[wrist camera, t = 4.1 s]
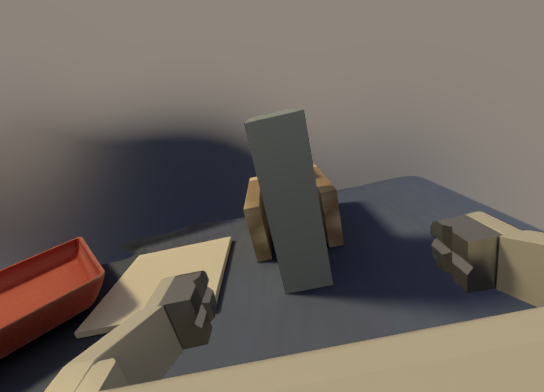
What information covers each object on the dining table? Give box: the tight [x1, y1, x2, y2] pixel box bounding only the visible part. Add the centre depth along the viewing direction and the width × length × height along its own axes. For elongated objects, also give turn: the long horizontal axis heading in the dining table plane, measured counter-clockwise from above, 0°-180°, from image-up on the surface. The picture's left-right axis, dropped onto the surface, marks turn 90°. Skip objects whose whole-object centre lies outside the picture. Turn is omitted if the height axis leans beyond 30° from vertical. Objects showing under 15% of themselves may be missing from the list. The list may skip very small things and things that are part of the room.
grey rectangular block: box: [244, 109, 333, 294], centre depth 23 cm, size 4×8×14 cm, turn 2°
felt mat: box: [74, 237, 232, 339], centre depth 27 cm, size 12×12×1 cm
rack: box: [244, 164, 344, 262], centre depth 31 cm, size 9×12×6 cm
